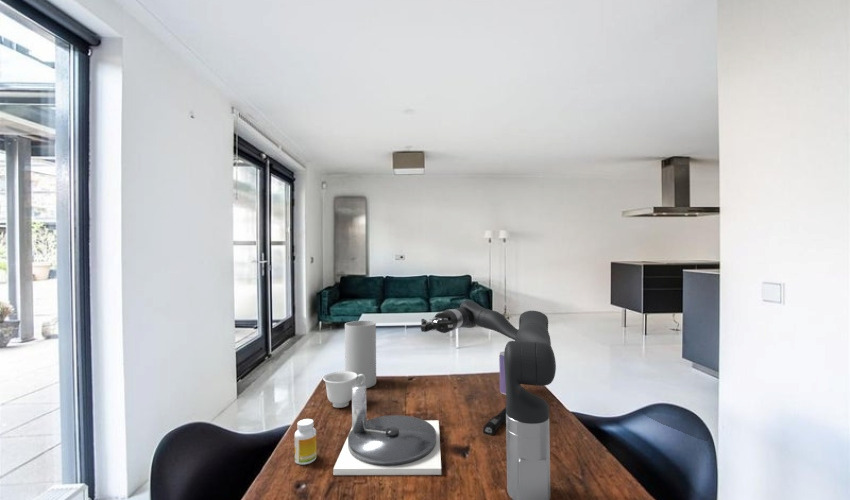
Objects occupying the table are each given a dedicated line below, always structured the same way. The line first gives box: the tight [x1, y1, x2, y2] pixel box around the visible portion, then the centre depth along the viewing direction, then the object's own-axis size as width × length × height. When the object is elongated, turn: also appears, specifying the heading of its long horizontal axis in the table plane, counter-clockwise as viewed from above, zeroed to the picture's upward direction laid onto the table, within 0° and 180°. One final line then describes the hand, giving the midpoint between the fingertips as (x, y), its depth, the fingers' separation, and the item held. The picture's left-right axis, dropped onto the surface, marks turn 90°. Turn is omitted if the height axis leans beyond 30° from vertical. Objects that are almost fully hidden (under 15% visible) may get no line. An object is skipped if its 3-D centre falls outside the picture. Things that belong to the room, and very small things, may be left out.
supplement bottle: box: [294, 418, 317, 466], centre depth 97 cm, size 5×5×10 cm
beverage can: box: [498, 350, 506, 396], centre depth 142 cm, size 6×6×15 cm
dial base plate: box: [332, 419, 442, 476], centre depth 103 cm, size 26×26×2 cm
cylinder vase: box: [344, 320, 377, 389], centre depth 153 cm, size 12×12×25 cm
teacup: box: [322, 370, 366, 409], centre depth 133 cm, size 12×15×10 cm
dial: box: [347, 385, 436, 466], centre depth 103 cm, size 24×24×14 cm
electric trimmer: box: [482, 407, 506, 437], centre depth 116 cm, size 4×16×3 cm, turn 146°
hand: (423, 328), depth 119 cm, fingers closed
